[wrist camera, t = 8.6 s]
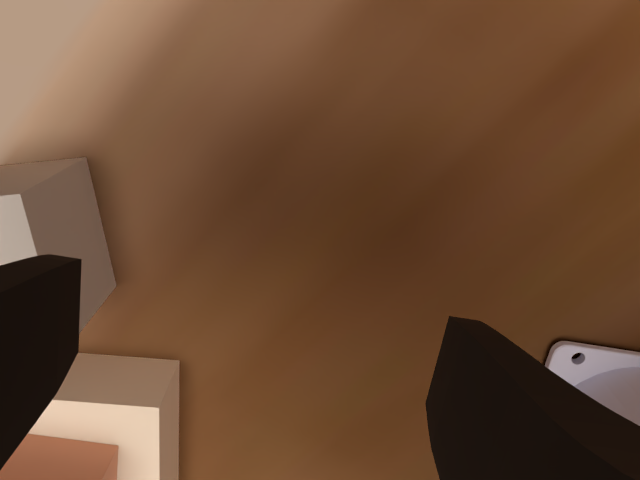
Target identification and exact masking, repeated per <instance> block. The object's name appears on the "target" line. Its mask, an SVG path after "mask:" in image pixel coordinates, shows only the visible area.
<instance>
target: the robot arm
mask: <svg viewBox="0 0 640 480" xmlns="http://www.w3.org/2000/svg"><path fill="white" fill-rule="evenodd" d="M81 264H82V259H78V258H72V257H65V256H59V255H52V254H46V255H39V256H34V257H30V258H26V259H22V260H18V261H15V262H11V263H7V264H4V265H0V470H1V469H2V468H3V466H4V465H5V464H6V462H7V461H8V460H9V458H10V457H11V455H12V454H13V453H14V451H15V450H16V449H17V447H18V446H19V445H20V443H21V442H22V441H23V439H24V438H25V437H26V435H27V434H28V433H29V431H30V430H31V428H32V427H33V426H34V424H35V423H36V422H37V420H38V419H39V417H40V416H41V415H42V413H43V412H44V411H45V409H46V408H47V406H48V405H49V404H50V402H51V401H52V399H53V398H54V397H55V395H56V394H57V392H58V390H59V388H60V387H61V385H62V383H63V381H64V379H65V377H66V376H67V374H68V372H69V370H70V368H71V366H72V364H73V362H74V360H75V358H76V356H77V354H78V346H79V319H80V291H81ZM576 353H581V355H580V356H579V357H578V358H576V359H572V356H573V355H574V354H576ZM426 411H427V420H428V429H429V436H430V443H431V449H432V452H433V456H434V460H435V464H436V467H437V471H438V474H439V478H440V480H640V352H635V351H628V350H622V349H615V348H609V347H602V346H596V345H589V344H583V343H577V342H570V341H560V342H557V343H556V344H554V345H553V346H552V348H551V349H550V352H549V355H548V358H547V360H546V363H545V366H544V365H543V364H541V363H540V362H539V361H537V360H536V359H534V358H533V357H532V356H530V355H529V354H528V353H526V352H525V351H524V350H522V349H521V348H520V347H518V346H517V345H516V344H514V343H513V342H511V341H510V340H509V339H507V338H506V337H505V336H503V335H502V334H500V333H499V332H497V331H496V330H494V329H493V328H491V327H490V326H488V325H487V324H485V323H483V322H481V321H477V320H471V319H464V318H458V317H451V316H449V319H448V323H447V326H446V330H445V334H444V337H443V341H442V345H441V348H440V352H439V356H438V359H437V363H436V367H435V371H434V374H433V378H432V382H431V385H430V389H429V393H428V396H427V400H426Z"/></svg>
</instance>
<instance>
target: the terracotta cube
mask: <svg viewBox="0 0 640 480" xmlns="http://www.w3.org/2000/svg"><path fill="white" fill-rule="evenodd" d="M117 466H118V445H110V444H103V443H95V442H87V441H80V440H72V439H64V438H56V437H49V436H41V435H33V434H27V435H26V437H25V438H24V439H23V441H22V442H21V443H20V445H19V446H18V447H17V449H16V450H15V451H14V453H13V454H12V455H11V457H10V458H9V460H8V461H7V462H6V464H5V465H4V466H3V468H2V469H1V470H0V480H117Z"/></svg>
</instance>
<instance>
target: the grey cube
mask: <svg viewBox="0 0 640 480" xmlns="http://www.w3.org/2000/svg"><path fill="white" fill-rule="evenodd" d="M46 254H52V255H59V256H65V257H72V258H78V259H82V264H81V291H80V319H79V333H80V332H81V331H82V329H83V328H84V327H85V326H86V324H87V323H88V322H89V321H90V319H91V318H92V317H93V315H94V314H95V313H96V312H97V310H98V309H99V308H100V307H101V305H102V304H103V303H104V301H105V300H106V299H107V298H108V296H109V295H110V294H111V292H112V291H113V290H114V289H115V287H116V281H115V277H114V273H113V269H112V264H111V260H110V256H109V252H108V247H107V243H106V239H105V235H104V230H103V226H102V222H101V218H100V213H99V209H98V205H97V201H96V196H95V192H94V188H93V184H92V179H91V175H90V171H89V167H88V162H87V158H86V157H81V158H71V159H61V160H51V161H41V162H31V163H20V164H10V165H0V265H4V264H7V263H11V262H15V261H18V260H22V259H26V258H30V257H34V256H39V255H46Z"/></svg>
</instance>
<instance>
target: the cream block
mask: <svg viewBox="0 0 640 480" xmlns="http://www.w3.org/2000/svg"><path fill="white" fill-rule="evenodd" d="M28 434H33V435H41V436H49V437H56V438H64V439H72V440H80V441H87V442H95V443H103V444H110V445H118V466H117V480H179V360H168V359H155V358H142V357H128V356H115V355H102V354H89V353H78V354H77V356H76V358H75V360H74V362H73V364H72V366H71V368H70V370H69V372H68V374H67V376H66V377H65V379H64V381H63V383H62V385H61V387H60V388H59V390H58V392H57V394H56V395H55V397H54V398H53V399H52V401H51V402H50V404H49V405H48V406H47V408H46V409H45V411H44V412H43V413H42V415H41V416H40V417H39V419H38V420H37V422H36V423H35V424H34V426H33V427H32V428H31V430H30V431H29V433H28Z"/></svg>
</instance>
